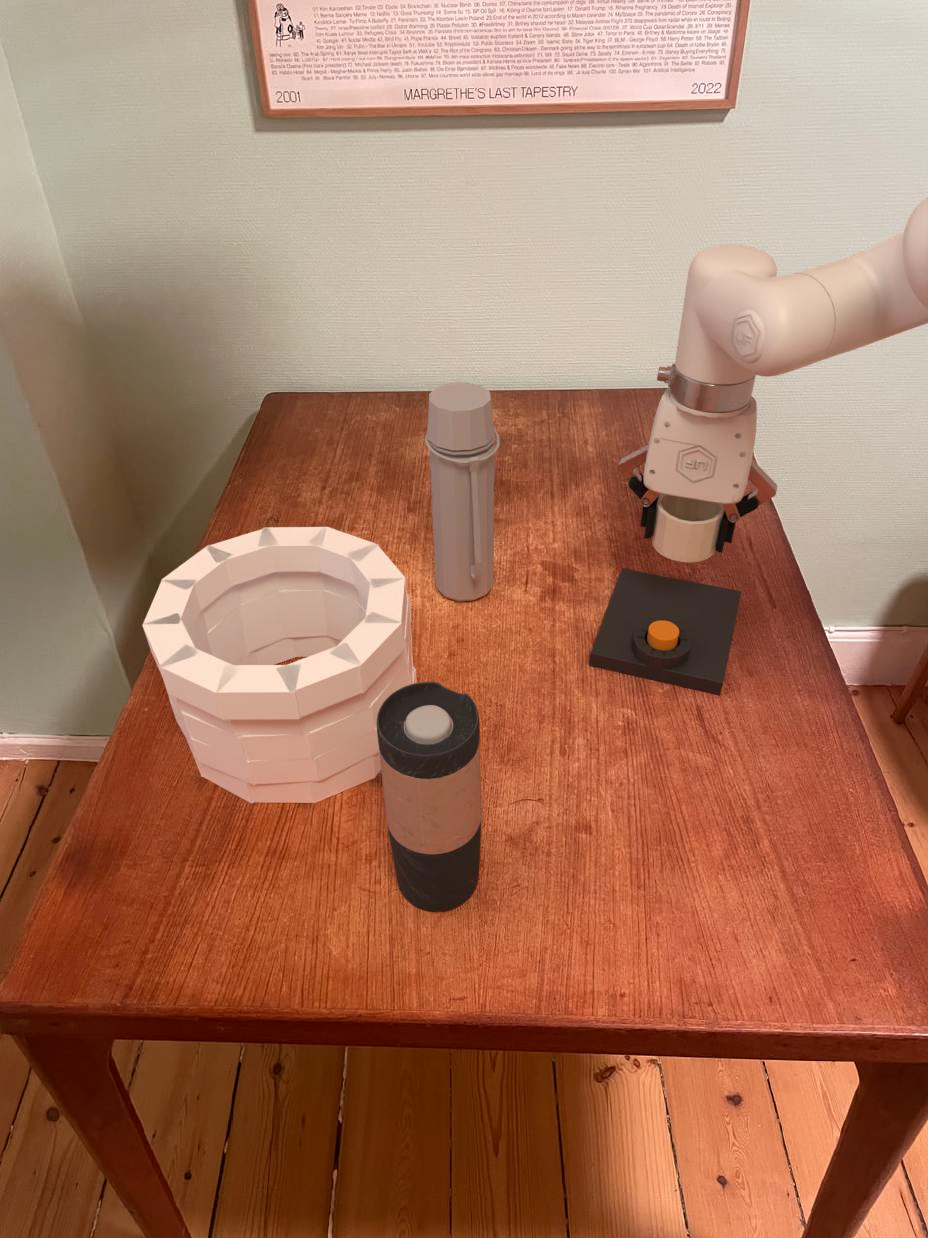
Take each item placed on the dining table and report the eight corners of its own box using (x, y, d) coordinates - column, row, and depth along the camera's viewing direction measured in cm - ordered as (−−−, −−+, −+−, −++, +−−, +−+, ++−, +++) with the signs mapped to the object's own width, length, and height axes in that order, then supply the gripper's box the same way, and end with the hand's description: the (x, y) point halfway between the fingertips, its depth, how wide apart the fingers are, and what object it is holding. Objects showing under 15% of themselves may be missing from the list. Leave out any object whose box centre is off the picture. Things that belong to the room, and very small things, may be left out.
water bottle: (425, 575, 110) (414, 386, 94) (485, 562, 112) (485, 375, 95) (446, 621, 103) (438, 426, 87) (510, 607, 105) (514, 414, 89)
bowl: (720, 532, 98) (728, 493, 95) (711, 568, 93) (719, 528, 90) (658, 520, 100) (663, 482, 97) (646, 555, 95) (651, 516, 92)
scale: (738, 603, 105) (744, 580, 102) (719, 696, 93) (725, 671, 91) (620, 580, 108) (623, 556, 106) (588, 666, 97) (591, 642, 95)
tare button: (679, 634, 96) (681, 623, 95) (674, 653, 94) (676, 642, 93) (650, 628, 97) (651, 617, 96) (644, 647, 95) (645, 636, 94)
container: (413, 813, 82) (402, 689, 72) (159, 819, 82) (111, 696, 72) (419, 634, 101) (411, 515, 91) (212, 638, 101) (181, 521, 91)
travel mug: (404, 926, 74) (386, 767, 61) (385, 850, 79) (365, 691, 66) (493, 903, 75) (493, 743, 62) (468, 830, 81) (464, 671, 68)
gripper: (613, 389, 85) (597, 542, 96) (804, 417, 80) (764, 574, 91) (629, 357, 90) (613, 506, 101) (809, 381, 85) (771, 534, 97)
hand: (684, 537), depth 96 cm, fingers closed on bowl, 7 cm apart
